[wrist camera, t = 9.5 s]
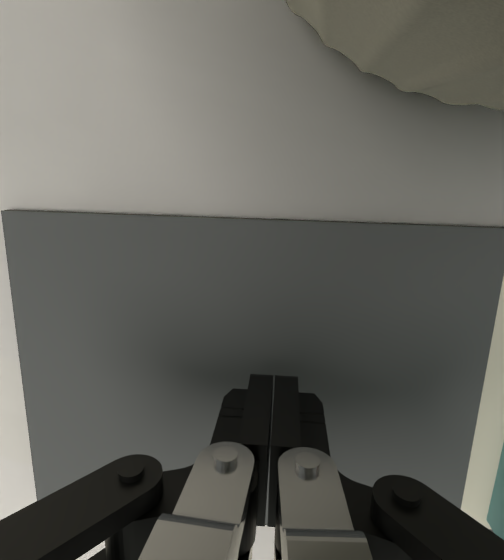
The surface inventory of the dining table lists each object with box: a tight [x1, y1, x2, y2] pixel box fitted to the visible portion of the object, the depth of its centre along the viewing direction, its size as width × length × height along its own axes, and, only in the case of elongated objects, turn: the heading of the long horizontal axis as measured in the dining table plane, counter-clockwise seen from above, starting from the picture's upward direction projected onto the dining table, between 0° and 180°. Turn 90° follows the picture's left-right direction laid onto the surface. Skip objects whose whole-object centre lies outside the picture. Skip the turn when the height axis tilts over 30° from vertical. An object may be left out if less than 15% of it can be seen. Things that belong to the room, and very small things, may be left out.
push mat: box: [1, 210, 504, 533], centre depth 14 cm, size 12×28×1 cm, turn 88°
